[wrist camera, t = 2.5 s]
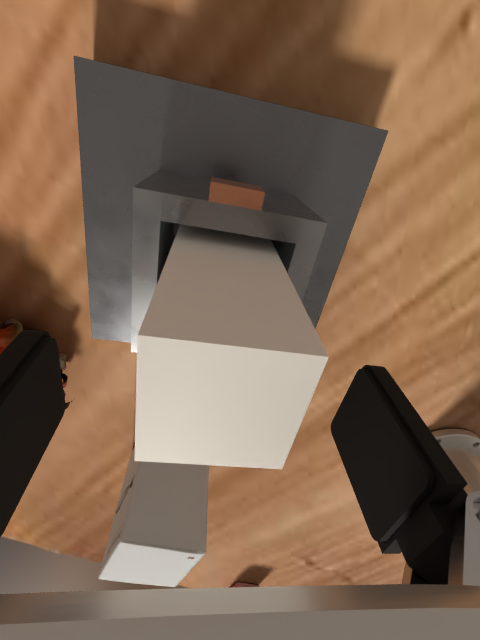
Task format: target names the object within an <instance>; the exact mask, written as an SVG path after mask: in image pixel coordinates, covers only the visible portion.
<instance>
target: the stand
mask: <svg viewBox="0 0 480 640" xmlns="http://www.w3.org/2000/svg"><path fill="white" fill-rule="evenodd" d="M74 68H75V84H76V99H77V115H78V130H79V145H80V161H81V176H82V192H83V207H84V222H85V238H86V253H87V269H88V284H89V300H90V315H91V330H92V338H95V339H104V340H113V341H122V342H131V352H137V339H138V333H139V330H140V327H141V325H142V322H143V320H144V317H145V314H146V312H147V309H148V307H149V304H150V302H151V299H152V296H153V294H154V291H155V289H156V286H157V283H158V281H159V278H160V276H161V273H162V270H163V268H164V265H165V263H166V260H167V257H168V255H169V252H170V250H171V247H172V244H173V242H174V239H175V237H176V234H177V231H178V229H179V226H180V224H183V225H189V226H195V227H201V228H207V229H213V230H219V231H224V232H230V233H236V234H242V235H248V236H254V237H260V238H265V239H271V241H272V243H273V245H274V247H275V249H276V251H277V253H278V255H279V257H280V259H281V261H282V263H283V265H284V267H285V269H286V272H287V274H288V276H289V278H290V280H291V282H292V284H293V286H294V288H295V290H296V292H297V294H298V296H299V298H300V300H301V302H302V304H303V306H304V308H305V310H306V312H307V314H308V316H309V318H310V320H311V322H312V324H313V326H314V328H316V326H317V323H318V320H319V318H320V315H321V312H322V309H323V307H324V304H325V301H326V299H327V296H328V293H329V290H330V288H331V285H332V282H333V280H334V277H335V274H336V272H337V269H338V266H339V263H340V261H341V258H342V255H343V253H344V250H345V247H346V244H347V242H348V239H349V236H350V234H351V231H352V228H353V225H354V223H355V220H356V217H357V215H358V212H359V209H360V207H361V204H362V201H363V198H364V196H365V193H366V190H367V188H368V185H369V182H370V179H371V177H372V174H373V171H374V169H375V166H376V163H377V161H378V158H379V155H380V152H381V150H382V147H383V144H384V142H385V139H386V136H387V133H388V131H387V130H383V129H378V128H374V127H370V126H366V125H362V124H357V123H353V122H349V121H345V120H341V119H337V118H332V117H328V116H324V115H320V114H316V113H312V112H307V111H303V110H299V109H295V108H291V107H286V106H282V105H278V104H274V103H270V102H266V101H261V100H257V99H253V98H249V97H245V96H240V95H236V94H232V93H228V92H224V91H220V90H215V89H211V88H207V87H203V86H199V85H194V84H190V83H186V82H182V81H178V80H174V79H169V78H165V77H161V76H157V75H153V74H148V73H144V72H140V71H136V70H132V69H128V68H123V67H119V66H115V65H111V64H107V63H103V62H98V61H94V60H90V59H86V58H82V57H77V56H74Z"/></svg>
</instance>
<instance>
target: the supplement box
mask: <svg viewBox="0 0 480 640" xmlns="http://www.w3.org/2000/svg"><path fill="white" fill-rule="evenodd" d="M134 459H135V448H134V449H133V451H132V453H131V457H130V461H129V464H128V468H127V472H126V475H125V479H124V483H123V486H122V490H121V494H120V497H119V501H118V505H117V508H116V512H115V516H114V520H113V524H112V528H111V531H110V535H109V539H108V543H107V547H106V550H105V554H104V558H103V562H102V565H101V569H100V573H99V577H98V578H99V579H104V580H110V581H119V582H128V583H137V584H148V585H158V586H169V587H175V586H177V585H178V584H179V583H180V581H181V580H182V579H183V578H184V577H185V576H186V575H187V574H188V572H189V571H191V569H192V568H193V567H194V566H195V565H196V563H197V562H198V561H199V560H200V559H201V558H202V557H203V556H204V555H205V554H206V540H207V506H208V472H209V465H198V464H180V463H162V462H144V461H134Z"/></svg>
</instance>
